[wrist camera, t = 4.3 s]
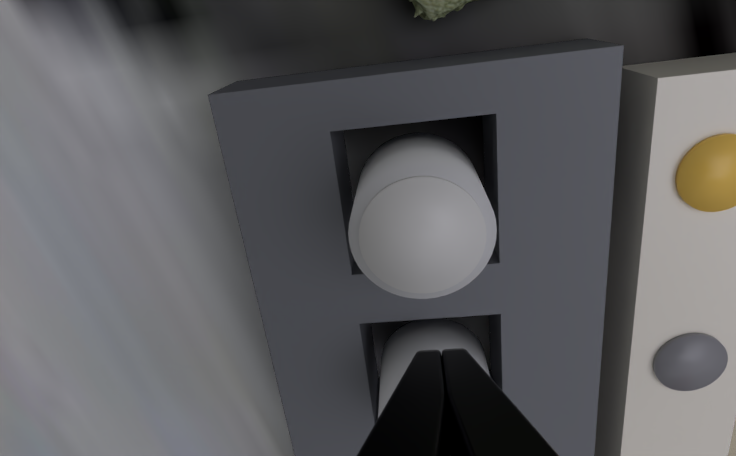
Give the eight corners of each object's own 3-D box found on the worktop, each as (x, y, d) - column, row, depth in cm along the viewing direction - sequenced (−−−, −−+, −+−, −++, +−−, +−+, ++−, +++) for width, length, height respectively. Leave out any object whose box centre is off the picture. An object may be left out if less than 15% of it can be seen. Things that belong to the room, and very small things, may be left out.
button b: (387, 404, 21) (384, 482, 17) (375, 321, 19) (369, 389, 16) (486, 399, 20) (503, 477, 17) (483, 314, 19) (501, 382, 15)
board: (330, 511, 27) (322, 569, 24) (237, 81, 18) (208, 95, 15) (566, 503, 25) (586, 564, 23) (587, 38, 17) (623, 45, 14)
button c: (365, 250, 18) (357, 307, 15) (350, 139, 16) (337, 174, 13) (480, 241, 18) (499, 297, 14) (476, 126, 16) (496, 159, 13)
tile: (588, 489, 25) (613, 553, 22) (616, 66, 17) (660, 79, 14) (673, 486, 25) (710, 551, 22) (743, 51, 17) (816, 61, 14)
